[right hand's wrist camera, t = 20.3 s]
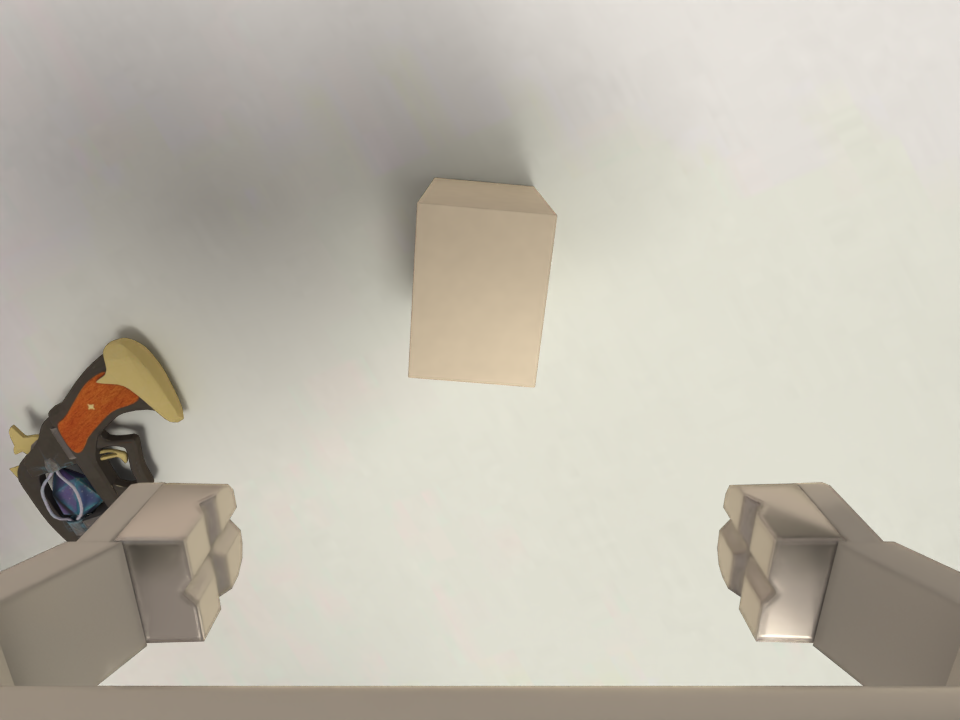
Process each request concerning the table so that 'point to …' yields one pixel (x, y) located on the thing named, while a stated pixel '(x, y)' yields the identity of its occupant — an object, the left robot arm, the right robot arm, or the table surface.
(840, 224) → the table surface
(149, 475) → the toy gun
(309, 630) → the table surface
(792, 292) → the table surface
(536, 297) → the brick
